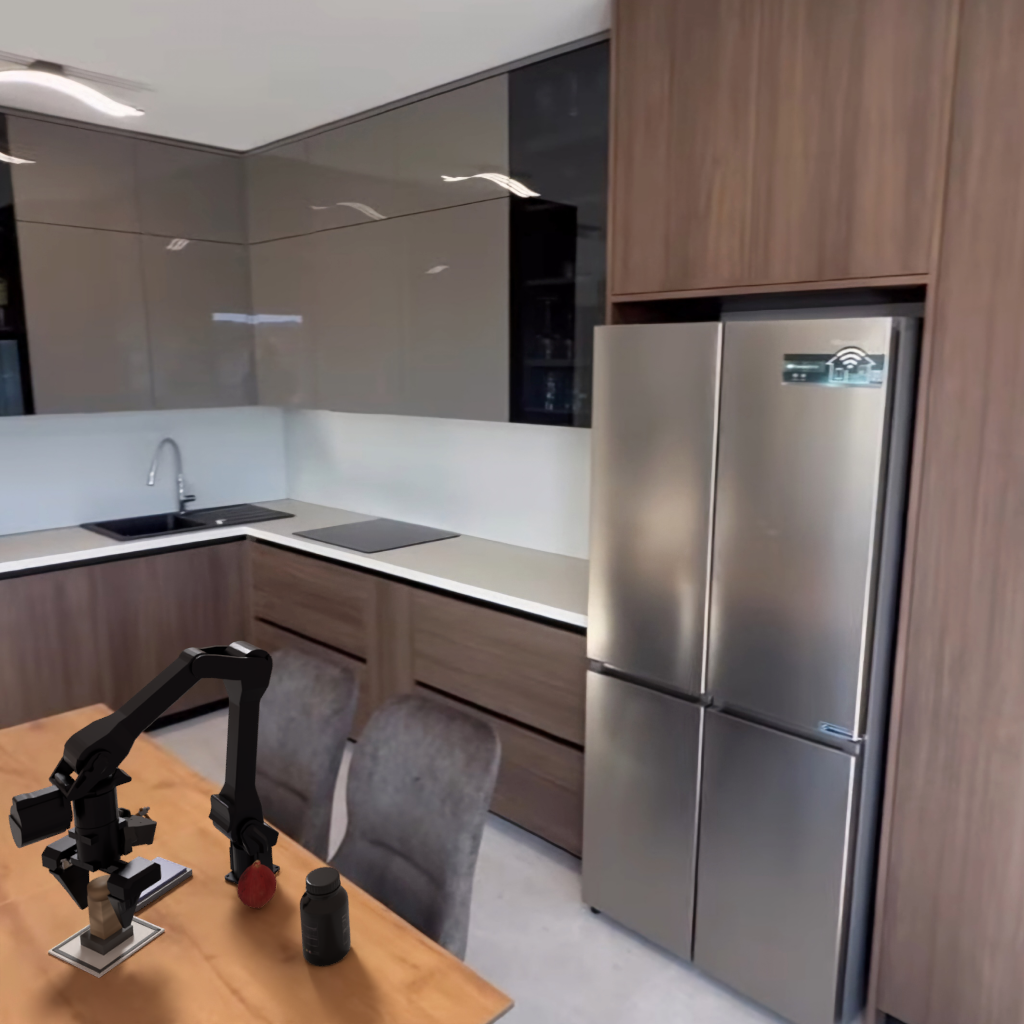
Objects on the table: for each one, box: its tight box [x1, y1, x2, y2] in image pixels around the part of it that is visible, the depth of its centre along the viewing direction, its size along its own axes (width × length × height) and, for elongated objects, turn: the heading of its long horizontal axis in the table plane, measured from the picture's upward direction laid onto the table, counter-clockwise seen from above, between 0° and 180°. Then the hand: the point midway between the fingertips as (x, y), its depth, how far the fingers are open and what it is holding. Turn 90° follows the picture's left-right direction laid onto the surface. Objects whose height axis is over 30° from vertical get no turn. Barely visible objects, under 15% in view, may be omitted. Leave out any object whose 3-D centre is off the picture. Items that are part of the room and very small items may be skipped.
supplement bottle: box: [299, 866, 352, 967], centre depth 118 cm, size 7×7×12 cm
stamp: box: [80, 874, 134, 956], centre depth 121 cm, size 5×5×9 cm
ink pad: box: [135, 856, 193, 913], centre depth 135 cm, size 8×11×2 cm
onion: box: [236, 860, 277, 910], centre depth 129 cm, size 6×6×8 cm
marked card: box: [47, 915, 166, 979], centre depth 121 cm, size 11×11×1 cm
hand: (105, 917), depth 121 cm, fingers open, 9 cm apart
